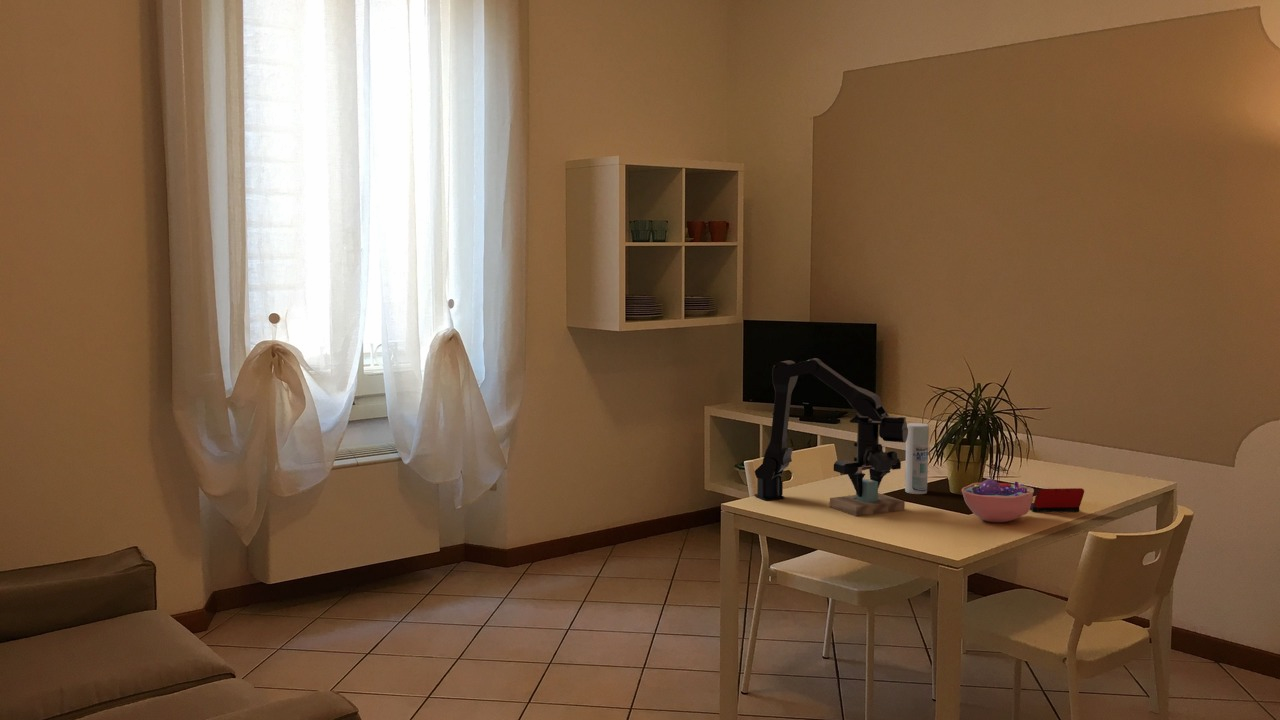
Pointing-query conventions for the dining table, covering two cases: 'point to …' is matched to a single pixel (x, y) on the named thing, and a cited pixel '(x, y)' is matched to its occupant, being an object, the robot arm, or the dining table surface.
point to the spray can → (916, 458)
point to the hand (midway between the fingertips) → (866, 496)
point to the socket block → (867, 505)
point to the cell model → (998, 500)
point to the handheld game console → (1057, 500)
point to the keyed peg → (868, 491)
